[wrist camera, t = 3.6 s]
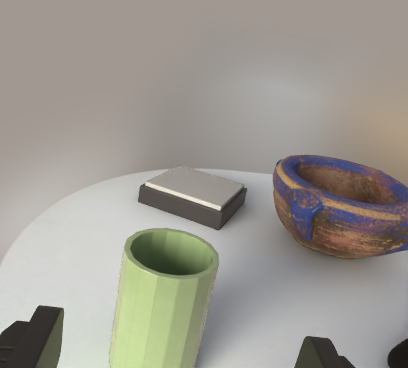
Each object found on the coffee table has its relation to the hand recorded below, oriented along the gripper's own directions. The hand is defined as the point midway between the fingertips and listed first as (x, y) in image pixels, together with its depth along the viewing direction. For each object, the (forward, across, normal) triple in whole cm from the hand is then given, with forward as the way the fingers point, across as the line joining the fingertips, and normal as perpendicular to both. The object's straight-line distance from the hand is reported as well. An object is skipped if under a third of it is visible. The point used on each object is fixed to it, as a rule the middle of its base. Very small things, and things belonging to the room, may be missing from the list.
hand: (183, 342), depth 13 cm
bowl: (+34, -22, +12) cm, 42 cm away
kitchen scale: (+42, -4, +12) cm, 43 cm away
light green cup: (+11, 0, +12) cm, 17 cm away
